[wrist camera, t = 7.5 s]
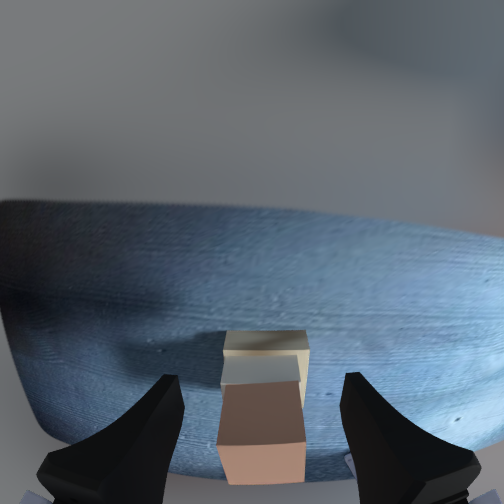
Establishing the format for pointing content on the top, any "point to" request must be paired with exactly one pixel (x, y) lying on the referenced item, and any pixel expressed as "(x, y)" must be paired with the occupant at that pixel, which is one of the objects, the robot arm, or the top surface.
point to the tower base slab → (271, 347)
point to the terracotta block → (262, 434)
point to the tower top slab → (259, 370)
